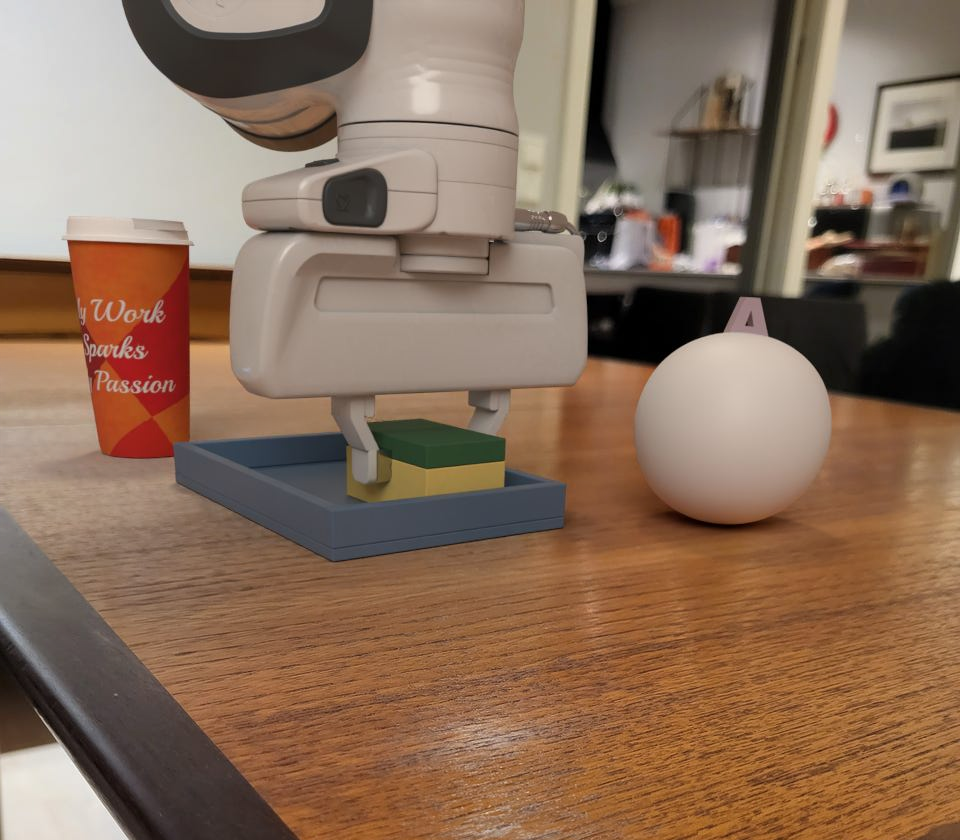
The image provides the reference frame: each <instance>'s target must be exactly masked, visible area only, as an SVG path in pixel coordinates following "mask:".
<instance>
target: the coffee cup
mask: <svg viewBox="0 0 960 840" xmlns="http://www.w3.org/2000/svg"><path fill="white" fill-rule="evenodd" d="M188 232H189V231H188V230H186V227H185V225H184V221H178V220H168V219H154V218H153V219H151V218H135V217H115V216H113V217H111V216H109V217H108V216H86V215H84V216H82V215H81V216H80V215H79V216H78V215H71V216H70V215H69V216H68V217H67V219H66V234H64V235H62V236H61V241H66V243H67V248H68V255H69V263H70V268H71V269H70V270H71V275H72V281H73V282H72V283H73V287H74V294H75V301H76V307H77V314H78V320H79V327H80V334H81V341H82V346H83V353H84V360H85V366H86V372H87V379H88V385H89V391H90V398H91V403H92V410H93V414H94V422H95V423H94V424H95V428H96V434H97V439H98V444H99V449H100V452H101V453H102V454H104V455H107V456H112V457H116V458H117V457H118V458H132V459H148V458H150V459H151V458H165V457H174V447H173V443H175V442H188V441H191V440H190V438H191V437H190V435H191V323H190V322H191V316H190V315H191V313H190V311H191V310H190V309H191V307H190V293H191V292H190V247H194V246H195V244H194V242H193V241H192V240H190V238H189V233H188Z"/></svg>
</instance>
